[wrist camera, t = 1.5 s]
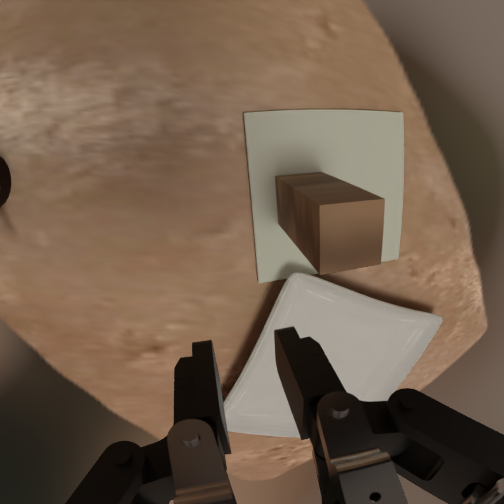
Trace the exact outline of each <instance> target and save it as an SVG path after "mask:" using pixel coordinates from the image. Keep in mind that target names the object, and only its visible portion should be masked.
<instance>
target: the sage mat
mask: <svg viewBox="0 0 504 504" xmlns="http://www.w3.org/2000/svg"><path fill="white" fill-rule="evenodd" d="M243 116H244V127H245V138H246V149H247V161H248V172H249V183H250V195H251V206H252V218H253V230H254V241H255V253H256V264H257V276H258V282H259V283H263V282H270V281H276V280H282V279H287V278H288V277H289V275H290V274H292V273H294V272H301V273H306V274H309V275H312V274H318V272H317V271H316V270H315V269H314V267H313V266H312V265H311V264H310V262H309V261H308V260H307V259H306V257H305V256H304V255H303V254H302V252H301V251H300V250H299V249H298V248H297V246H296V245H295V244H294V243H293V241H292V240H291V239H290V238H289V237H288V235H287V234H286V233H285V232H284V230H283V229H282V228H281V227H280V226H279V224H278V215H277V199H276V184H275V176H280V175H291V174H303V173H315V172H323V173H326V174H328V175H331V176H333V177H336V178H338V179H341V180H343V181H345V182H348V183H350V184H352V185H355V186H357V187H359V188H362V189H364V190H366V191H369V192H371V193H373V194H375V195H378V196H380V197H382V198H384V199H385V210H384V229H383V243H382V256H381V262H384V261H389V260H395V259H398V255H399V246H400V235H401V222H402V207H403V184H404V123H403V113H402V112H388V111H370V110H282V111H263V112H249V113H243Z"/></svg>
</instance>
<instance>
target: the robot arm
mask: <svg viewBox="0 0 504 504" xmlns="http://www.w3.org/2000/svg"><path fill="white" fill-rule="evenodd" d="M274 343H275V360H276V367H277V372H278V375H279V378H280V381H281V384H282V387H283V389H284V392H285V395H286V398H287V401H288V404H289V406H290V409H291V412H292V415H293V418H294V420H295V423H296V426H297V429H298V432H299V434H300V437H301V440H304V439H308V438H310V440H311V443H312V445H313V450H312V455H313V460H314V464H315V469H316V473H317V478H318V483H319V488H320V493H321V499H322V504H408V502H407V499H406V497H405V494H404V491H403V488H402V485H401V483H400V480H399V477H398V475H397V474H399V475H401V476H402V477H404V478H406V479H407V480H409V481H411V482H412V483H414V484H415V485H417V486H419V487H420V488H422V489H424V490H425V491H427V492H429V493H430V494H432V495H434V496H436V497H437V498H439V499H441V500H443V501H445V502H446V503H448V504H504V435H503V434H501V433H499V432H497V431H495V430H493V429H491V428H489V427H487V426H485V425H483V424H481V423H479V422H477V421H475V420H473V419H471V418H469V417H467V416H465V415H463V414H461V413H459V412H457V411H455V410H454V409H452V408H450V407H448V406H446V405H444V404H442V403H440V402H438V401H436V400H434V399H433V398H431V397H429V396H427V395H425V394H423V393H421V392H419V391H417V390H415V389H410V388H405V389H400V390H397V391H395V392H394V393H392V394H391V396H390V397H389V399H388V401H372V402H367V401H361V400H359V399H358V398H357V397H356V396H354V395H353V394H350V393H347V392H346V390H345V388H344V387H343V385H342V383H341V381H340V379H339V378H338V376H337V374H336V372H335V370H334V369H333V367H332V365H331V363H329V360H328V358H327V356H326V355H325V352H324V351H323V349H322V347H321V345H320V343H318V342H317V341H315V340H314V339H313V338H311V337H310V336H309V337H305V338H300V337H299V335H298V333H297V331H296V329H295V327H294V326H292V327H286V328H281V329H276V330H274ZM174 380H175V381H174V424H173V427H172V428H171V429H170V430H169V432H168V435H167V436H166V437H165V438H163V439H162V440H160V441H158V442H156V443H153V444H150V445H147V446H144V447H141V448H140V446H138V445H137V444H135V443H133V442H130V441H119V442H116V443H113V444H111V445H110V446H108V448H106V450H105V451H104V452H103V453H102V455H101V456H100V457H99V459H98V460H97V461H96V463H95V464H94V466H93V467H92V469H91V470H90V471H89V472H88V474H87V475H86V476H85V478H84V479H83V480H82V482H81V483H80V484H79V486H78V487H77V488H76V490H75V491H74V493H73V494H72V495H71V497H70V498H69V499H68V501H67V502H66V503H65V504H169V502H170V500H173V502H174V504H237V503H236V500H235V496H234V494H233V490H232V487H231V484H230V481H229V478H228V475H227V472H226V470H227V466H226V460H225V454H231V449H230V443H229V437H228V431H227V424H226V418H225V411H224V405H223V398H222V391H221V384H220V378H219V373H218V368H217V363H216V358H215V353H214V348H213V343H212V340H208V341H200V342H193V343H192V356H191V357H183V358H180V359H179V361H178V363H177V365H176V366H175V370H174Z"/></svg>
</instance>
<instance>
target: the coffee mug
mask: <svg viewBox="0 0 504 504" xmlns="http://www.w3.org/2000/svg"><path fill="white" fill-rule="evenodd" d="M10 189H11V175H10V171H9V168H8V166H7V164H6V162H5V161H4V160H3V159H2V158H1V157H0V207H1V206H2V205H3V204H4V203H5V202H6V200H7V198H8V196H9V193H10Z"/></svg>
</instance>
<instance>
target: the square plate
mask: <svg viewBox="0 0 504 504" xmlns="http://www.w3.org/2000/svg"><path fill="white" fill-rule="evenodd" d="M442 321H443V318H442V317H441V316H439V315H435V314H432V313H427V312H423V311H418V310H413V309H409V308H405V307H401V306H397V305H393V304H390V303H386V302H383V301H380V300H377V299H374V298H371V297H368V296H365V295H363V294H360V293H357V292H355V291H352V290H349V289H347V288H344V287H341V286H339V285H336V284H334V283H331V282H329V281H326V280H323V279H321V278H318V277H315V276H312V275H309V274H306V273H301V272H294V273H292V274H290V275H289V277H288V278H287V280H286V281H285V283H284V285H283V287H282V289H281V291H280V293H279V295H278V297H277V299H276V301H275V304H274V306H273V308H272V310H271V312H270V315H269V317H268V319H267V321H266V324H265V326H264V328H263V330H262V332H261V334H260V337H259V339H258V341H257V343H256V345H255V347H254V349H253V351H252V353H251V355H250V357H249V359H248V361H247V363H246V365H245V366H244V368H243V370H242V372H241V374H240V376H239V377H238V379H237V381H236V383H235V384H234V386H233V388H232V389H231V391H230V392H229V394H228V396H227V397H226V399H225V400H224V402H223V405H224V411H225V418H226V424H227V431H230V432H238V433H246V434H256V435H266V436H278V437H297V438H301V437H300V434H299V432H298V429H297V426H296V423H295V420H294V418H293V415H292V412H291V409H290V406H289V404H288V401H287V398H286V395H285V392H284V389H283V387H282V384H281V381H280V378H279V375H278V372H277V367H276V360H275V343H274V330H276V329H281V328H286V327H292V326H294V327H295V329H296V331H297V333H298V335H299V337H300V338H305V337H309V336H310V337H311V338H313V339H314V340H315V341H317V342H318V343H320V345H321V347H322V349H323V351H324V352H325V355H326V356H327V358H328V360H329V363H331V365H332V367H333V369H334V370H335V372H336V374H337V376H338V378H339V379H340V381H341V383H342V385H343V387H344V388H345V390H346V392H347V393H350V394H353V395H354V396H356V397H357V398H358V399H359V400H361V401H367V402H372V401H387V400H388V399H389V397H390V396H391V394H392V393H394V392H395V390H396V389H397V388H398V387H399V385H400V384H401V383H402V381H403V380H404V379H405V377H406V376H407V375H408V373H409V372H410V371H411V369H412V368H413V366H414V365H415V364H416V362H417V361H418V359H419V358H420V356H421V355H422V353H423V352H424V350H425V349H426V347H427V346H428V344H429V343H430V341H431V340H432V338H433V337H434V335H435V333H436V332H437V330H438V329H439V327H440V325H441V323H442Z"/></svg>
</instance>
